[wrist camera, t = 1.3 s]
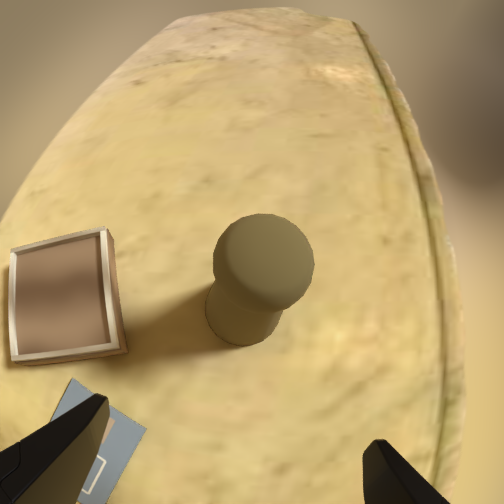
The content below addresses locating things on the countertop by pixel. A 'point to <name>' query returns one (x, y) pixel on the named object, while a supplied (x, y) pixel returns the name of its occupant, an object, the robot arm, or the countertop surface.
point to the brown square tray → (65, 300)
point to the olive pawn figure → (257, 277)
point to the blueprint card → (104, 446)
